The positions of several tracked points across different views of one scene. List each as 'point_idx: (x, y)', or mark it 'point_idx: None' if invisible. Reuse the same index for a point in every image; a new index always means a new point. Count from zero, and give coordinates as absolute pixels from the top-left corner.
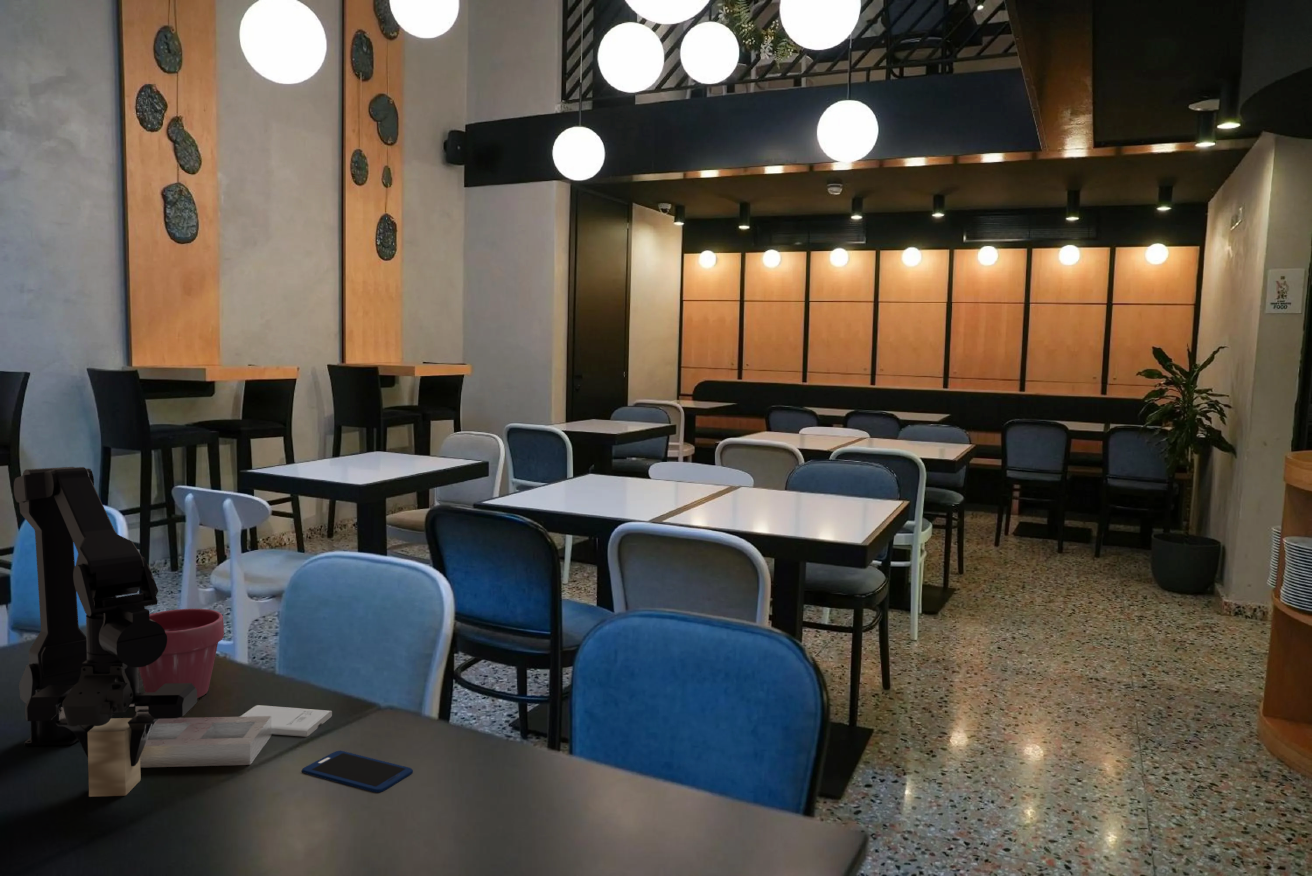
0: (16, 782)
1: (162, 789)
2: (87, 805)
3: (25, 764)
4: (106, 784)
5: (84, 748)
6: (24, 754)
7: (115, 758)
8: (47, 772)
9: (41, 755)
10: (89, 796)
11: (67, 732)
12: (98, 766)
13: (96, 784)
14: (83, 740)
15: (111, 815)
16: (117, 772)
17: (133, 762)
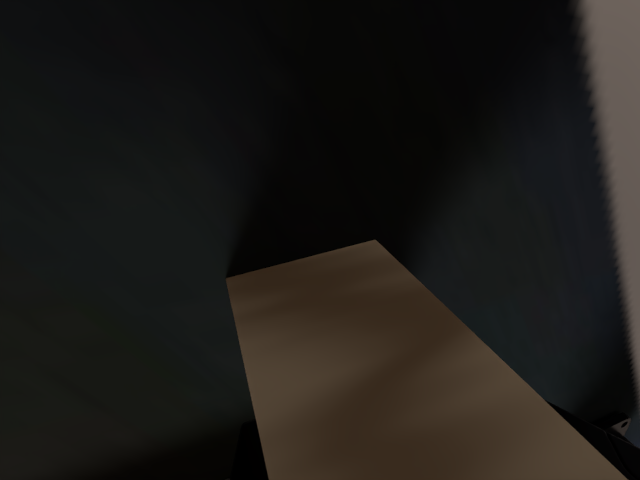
0: (611, 273)
1: (86, 361)
2: (339, 164)
3: (607, 354)
4: (324, 285)
5: (567, 417)
6: (615, 386)
7: (330, 416)
8: (553, 338)
9: (584, 395)
10: (373, 240)
11: None
12: (408, 337)
13: (370, 274)
14: (635, 470)
15: (137, 63)
16: (289, 344)
17: (244, 439)
